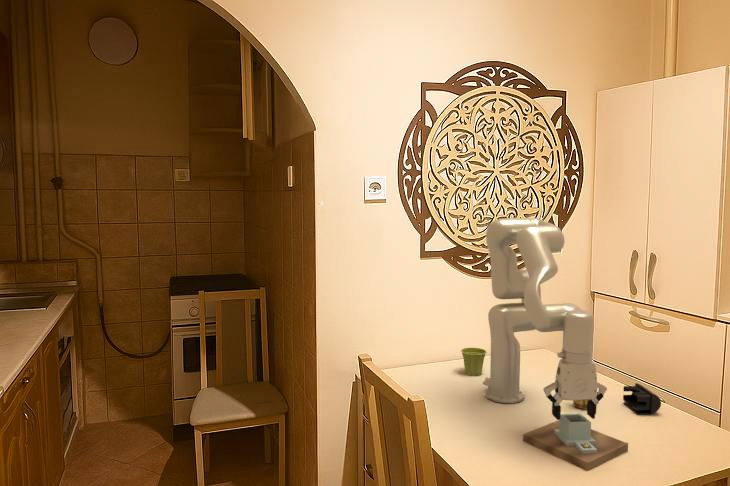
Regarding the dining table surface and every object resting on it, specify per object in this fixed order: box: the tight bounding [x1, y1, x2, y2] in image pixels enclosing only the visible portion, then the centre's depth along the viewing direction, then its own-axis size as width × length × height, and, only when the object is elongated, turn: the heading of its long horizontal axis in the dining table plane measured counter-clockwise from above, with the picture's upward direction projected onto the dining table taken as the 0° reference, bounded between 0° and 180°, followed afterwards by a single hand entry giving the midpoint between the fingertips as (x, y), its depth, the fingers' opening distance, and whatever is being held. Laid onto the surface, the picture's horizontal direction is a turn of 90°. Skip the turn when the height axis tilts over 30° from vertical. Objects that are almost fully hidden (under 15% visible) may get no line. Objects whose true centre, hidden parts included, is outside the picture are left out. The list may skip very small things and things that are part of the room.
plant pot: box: [460, 347, 487, 376], centre depth 211 cm, size 9×9×9 cm
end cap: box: [622, 382, 662, 416], centre depth 176 cm, size 10×7×7 cm
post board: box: [522, 420, 629, 471], centre depth 152 cm, size 20×18×6 cm
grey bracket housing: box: [554, 413, 597, 454], centre depth 149 cm, size 13×8×6 cm, turn 5°
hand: (573, 417), depth 152 cm, fingers open, 9 cm apart
